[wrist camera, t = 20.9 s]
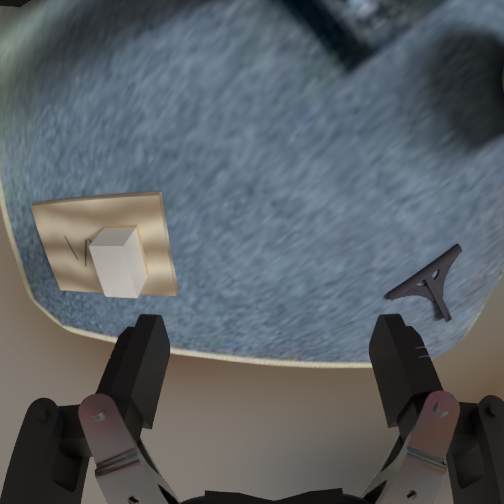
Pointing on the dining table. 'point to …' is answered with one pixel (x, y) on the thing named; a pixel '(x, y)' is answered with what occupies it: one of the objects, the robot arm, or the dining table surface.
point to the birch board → (91, 224)
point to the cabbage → (503, 79)
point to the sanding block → (120, 260)
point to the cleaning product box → (13, 3)
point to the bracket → (430, 281)
